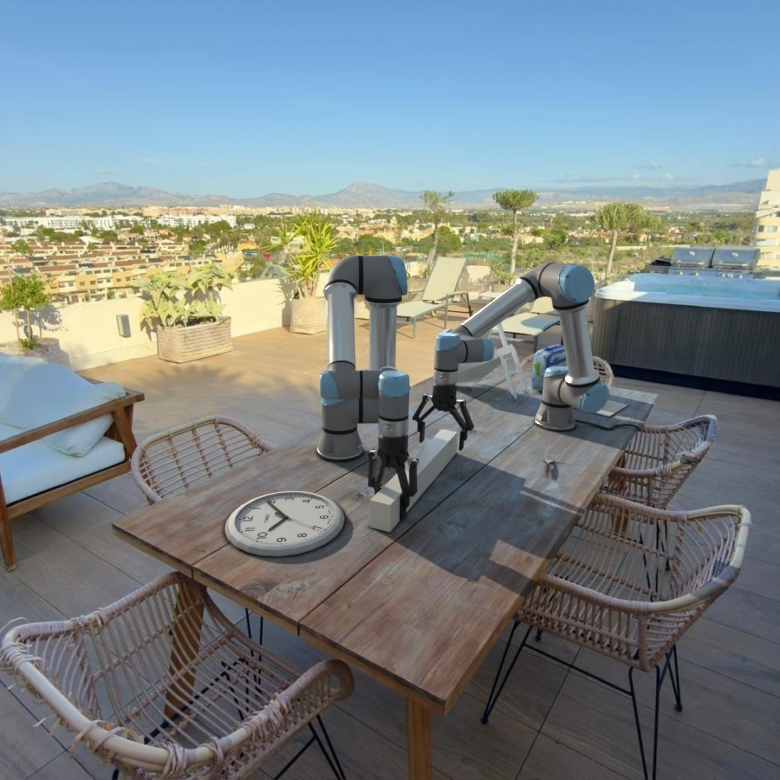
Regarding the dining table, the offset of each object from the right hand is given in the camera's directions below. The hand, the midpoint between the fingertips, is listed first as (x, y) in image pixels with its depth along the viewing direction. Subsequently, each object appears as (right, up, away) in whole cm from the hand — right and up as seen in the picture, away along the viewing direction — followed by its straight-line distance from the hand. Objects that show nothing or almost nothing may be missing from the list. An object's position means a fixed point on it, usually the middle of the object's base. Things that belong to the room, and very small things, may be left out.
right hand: (441, 445), depth 170 cm
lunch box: (+61, +18, +80) cm, 102 cm away
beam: (-8, -10, -15) cm, 20 cm away
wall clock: (-44, -16, -36) cm, 59 cm away
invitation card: (+75, +11, +56) cm, 94 cm away
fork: (+34, -7, -2) cm, 35 cm away
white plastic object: (+25, +17, +73) cm, 79 cm away
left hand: (-16, -15, -33) cm, 39 cm away
